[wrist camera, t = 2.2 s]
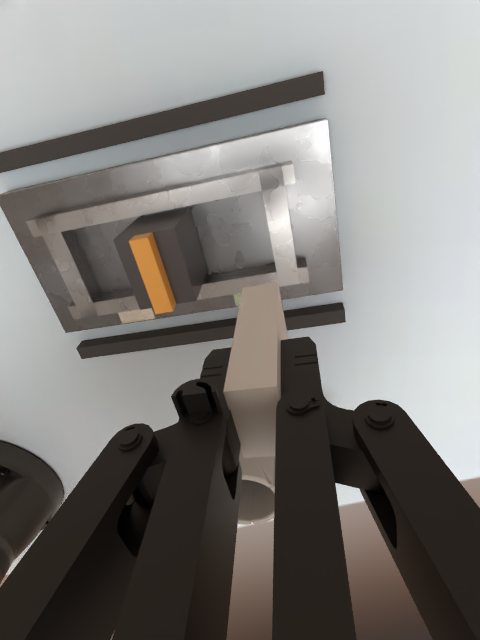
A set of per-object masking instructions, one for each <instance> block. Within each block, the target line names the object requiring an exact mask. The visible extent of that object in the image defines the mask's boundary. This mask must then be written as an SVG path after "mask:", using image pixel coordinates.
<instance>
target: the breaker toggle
mask: <svg viewBox="0 0 480 640" xmlns="http://www.w3.org/2000/svg"><path fill="white" fill-rule="evenodd" d="M113 241H114V244H115V246H116V249H117V251H118V254H119V257H120V259H121V262H122V264H123V267H124V269H125V272H126V275H127V277H128V280H129V282H130V285H131V287H132V290H133V293H134V295H135V298H136V300H137V303H138V305H139V308H140V310H143V309H149V308H154V311H155V314H160V313H166V312H172V311H173V310H174V308H175V306H176V304H180V303H187V302H193V301H197V298H198V295H199V293H200V290H201V288H202V285H203V282H204V280H205V277H206V274H207V272H208V270H207V266H206V263H205V259H204V255H203V252H202V248H201V245H200V241H199V237H198V234H197V230H196V226H195V223H194V219H193V215H192V212H191V208H190V207H187V208H182V209H177V210H172V211H167V212H162V213H157V214H153V215H148V216H143V217H138V218H137V219H136V220H135V221H133V222H132V223H131V224H130V225H129V226H128V227H127V228H126V229H125V230H123V231H122V232H121V233H120V234H119V235H118V236H117V237H116V238H115V239H114V240H113Z"/></svg>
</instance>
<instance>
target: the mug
mask: <svg viewBox="0 0 480 640" xmlns="http://www.w3.org/2000/svg"><path fill="white" fill-rule="evenodd" d="M239 461H240V465H241V468H242V481H241V491H240V502H239V512H238V523H239V524H251V522H253V523H254V524H258V523H263V522H266V521H268V520H270V519H273V518H274V502H275V456H266V457H253V458H243V454H242V451H241V448H240V455H239Z"/></svg>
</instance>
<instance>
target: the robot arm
mask: <svg viewBox="0 0 480 640" xmlns="http://www.w3.org/2000/svg"><path fill="white" fill-rule="evenodd" d="M202 369H203V370H202V372H201V376H200V377H201V378H200V379H195V380H191V381H188V382H186V383H184V384H182V385H181V386H179V387H178V388H177V389H176V390H175V391H174V393H173V394H172V396H171V398H172V400H173V403H174V405H175V408H176V410H177V413H178V415H179V421H178V423H176V424H174V425H172V426H169V427H167V428H164V429H161V430H158V431H155V432H153V430H152V429H151V428H150V426H149V425H146V424H143V423H142V424H133V425H130V426H127V427H125V428H123V429H122V430H120V431H119V432H118V433H117V434H116V435H115V436H114V437H113V438H112V439H111V440H110V441H109V443H108V444H107V445H106V447H105V448H104V449H103V451H102V452H101V453H100V455H99V456H98V457H97V459H96V460H95V461H94V463H93V464H92V465H91V467H90V468H89V469H88V471H87V472H86V473H85V475H84V476H83V477H82V479H81V480H80V481H79V483H78V484H77V485H76V487H75V488H74V489H73V491H72V492H71V493H70V495H69V496H68V498H67V499H66V500H65V502H64V503H63V504H62V506H61V507H60V505H61V503H62V501H63V495H64V494H63V488H62V485H61V482H60V480H59V479H58V477H57V476H56V474H55V473H54V472H53V471H52V470H51V469H50V468H49V467H48V466H47V465H46V464H45V463H44V462H42V461H41V460H40V459H38V458H37V457H35V456H34V455H32V454H30V453H28V452H27V451H25V450H23V449H20V448H18V447H16V446H13V445H10V444H7V443H4V442H0V584H1V581H2V580H3V578H4V576H5V575H6V573H7V571H8V569H9V567H10V566H11V564H12V563H13V561H14V560H15V559H16V558H17V557H18V556H19V555H20V554H21V553H22V552H23V551H24V549H25V548H26V547H27V546H28V545H29V544H30V543H31V542H32V541H33V540H34V538H35V537H36V536H37V535H38V533H39V532H40V531H41V530H43V529H44V530H43V531H42V532H41V534H40V535H39V536H38V538H37V539H36V540H35V542H34V543H33V544H32V546H31V547H30V548H29V550H28V551H27V552H26V554H25V555H24V556H23V558H22V559H21V560H20V562H19V563H18V564H17V566H16V567H15V568H14V570H13V571H12V572H11V574H10V575H9V576H8V578H7V579H6V580H5V582H4V583H3V585H2V586H1V587H0V640H110V639H111V636H112V634H113V633H114V635H113V639H112V640H226V638H227V628H228V617H229V607H230V606H229V605H230V595H231V586H232V575H233V565H234V554H235V544H236V533H237V523H238V512H239V502H240V491H241V481H242V468H241V465H240V461H239V455H240V448H241V451H242V454H243V458H253V457H266V456H275V502H274V564H273V565H274V566H273V567H274V568H273V627H272V640H357V639H356V632H355V625H354V619H353V618H354V617H353V611H352V603H351V596H350V588H349V581H348V574H347V566H346V559H345V552H344V544H343V537H342V530H341V522H340V516H339V508H338V501H337V493H336V486H335V483H339V484H343V485H347V486H351V487H355V488H359V489H360V491H361V493H362V496H363V498H364V500H365V502H366V504H367V505H368V508H369V510H370V511H371V514H372V516H373V518H374V520H375V522H376V524H377V526H378V528H379V530H380V532H381V534H382V537H383V538H384V541H385V543H386V545H387V547H388V549H389V551H390V553H391V555H392V557H393V559H394V561H395V563H396V565H397V567H398V569H399V571H400V573H401V576H402V578H403V580H404V582H405V584H406V586H407V588H408V590H409V592H410V594H411V596H412V598H413V600H414V602H415V604H416V606H417V608H418V611H419V612H420V615H421V617H422V619H423V621H424V623H425V624H426V627H427V629H428V631H429V633H430V635H431V637H432V639H433V640H480V508H479V507H478V506H477V504H476V503H475V502H474V500H473V499H472V498H471V496H470V495H469V494H468V492H467V491H466V490H465V489H464V487H463V486H462V485H461V484H460V482H459V481H458V479H457V478H456V477H455V476H454V474H453V473H452V472H451V470H450V469H449V468H448V466H447V465H446V464H445V463H444V461H443V460H442V459H441V457H440V456H439V455H438V453H437V452H436V451H435V450H434V448H433V447H432V446H431V444H430V443H429V442H428V440H427V439H426V438H425V437H424V435H423V434H422V433H421V431H420V430H419V429H418V428H417V426H416V425H415V424H414V422H413V421H412V420H411V418H410V417H409V416H408V415H407V413H406V412H405V411H404V410H403V409H402V408H401V407H400V406H398V405H397V404H394V403H392V402H390V401H384V400H371V401H367V402H365V403H362V404H360V405H359V406H358V407H357V408H356V409H355V410H354V411H353V410H347V409H342V408H338V407H336V406H334V405H332V404H331V403H329V402H328V401H327V400H326V399H325V397H324V395H323V392H322V386H321V379H320V372H319V365H318V358H317V351H316V344H315V343H314V342H313V341H312V340H311V339H310V338H309V337H302V338H294V339H288V334H287V329H286V323H285V318H284V312H283V307H282V301H281V296H280V290H279V285H278V282H275V283H269V284H262V285H256V286H250V287H243V290H242V295H241V300H240V306H239V311H238V316H237V322H236V327H235V332H234V338H233V343H232V348H224V349H216V350H212V351H211V353H210V354H209V355H208V356H207V357H206V359H205V361H204V365H203V368H202ZM59 507H60V508H59ZM58 509H59V510H58ZM114 631H115V632H114Z"/></svg>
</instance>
